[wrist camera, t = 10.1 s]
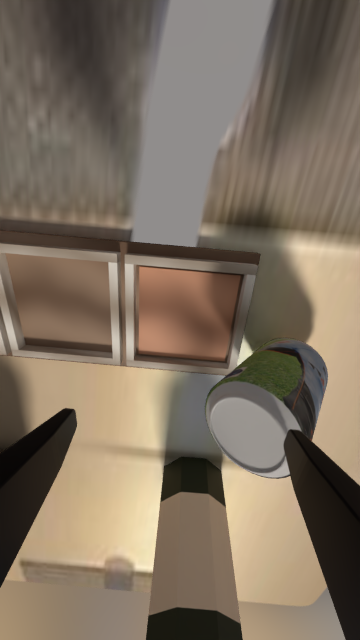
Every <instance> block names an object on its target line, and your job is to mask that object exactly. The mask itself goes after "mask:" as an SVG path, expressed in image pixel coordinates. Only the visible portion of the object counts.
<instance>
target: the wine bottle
mask: <svg viewBox="0 0 360 640" xmlns="http://www.w3.org/2000/svg"><path fill="white" fill-rule="evenodd" d="M146 640H243V639H242V631H241V624H240V616H239V607H238V600H237V592H236V584H235V576H234V568H233V560H232V552H231V545H230V537H229V529H228V521H227V513H226V505H225V498H224V490H223V482H222V474H221V471H220V470H219V469H218V468H217V467H215V466H214V465H213V464H212V463H211V462H209V461H208V460H207V459H203V458H190V457H181V458H179V459H177V460H175V461H174V462H172V463H170V464H168V465H166V466H165V467H164V473H163V482H162V492H161V501H160V511H159V520H158V530H157V539H156V549H155V558H154V568H153V578H152V587H151V597H150V606H149V616H148V625H147V635H146Z"/></svg>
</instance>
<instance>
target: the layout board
mask: <svg viewBox="0 0 360 640" xmlns="http://www.w3.org/2000/svg"><path fill="white" fill-rule="evenodd" d="M260 255H261V254H259V253H253V252H242V251H231V250H219V249H208V248H196V247H185V246H174V245H161V244H150V243H140V242H128V241H117V240H106V239H94V238H83V237H72V236H60V235H49V234H38V233H26V232H15V231H4V230H0V355H4V356H15V357H27V358H38V359H49V360H60V361H71V362H82V363H93V364H104V365H115V366H126V367H137V368H148V369H159V370H170V371H181V372H192V373H203V374H214V375H225V376H227V375H228V374H229V373H230V372H232V371H233V370H234V369H235V368H236V366H237V362H238V357H239V353H240V348H241V343H242V339H243V334H244V329H245V325H246V320H247V316H248V311H249V306H250V302H251V297H252V293H253V288H254V283H255V279H256V274H257V270H258V264H259V260H260Z"/></svg>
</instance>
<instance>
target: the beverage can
mask: <svg viewBox="0 0 360 640" xmlns="http://www.w3.org/2000/svg"><path fill="white" fill-rule="evenodd" d="M327 381H328V372H327V368H326V365H325V362H324V361H323V359H322V357H321V356H320V355H319V354H318V352H317V351H316V350H314V349H313V348H312V347H311V346H309V345H308V344H306V343H304V342H302V341H299V340H296V339H291V338H279V339H274V340H271V341H269V342H267V343H266V344H264V345H263V346H262V347H260V348H259V349H258V350H257V351H256V352H254V353H253V354H252V355H251V356H250V357H248V358H247V359H246V360H245V361H244V362H242V363H241V364H240V365H239V366H238V367H236V368H235V369H234V370H233V371H232V372H230V373H229V374H228V375H227V376H226V377H224V378H223V379H222V380H221V381H220V382H218V383H217V384H216V385H215V386H214V387H213V388H212V389H211V391H210V392H209V394H208V397H207V399H206V405H205V415H206V421H207V424H208V427H209V430H210V432H211V434H212V436H213V438H214V440H215V441H216V443H217V445H218V446H219V448H220V449H221V450H222V451H223V453H224V454H225V455H226V456H227V457H228V458H229V459H230V460H231V461H233V462H234V463H235V464H237V465H238V466H240V467H241V468H243V469H245V470H247V471H249V472H251V473H253V474H256V475H258V476H261V477H266V478H277V479H279V478H285V477H288V476H290V472H289V468H288V464H287V460H286V456H285V452H284V446H283V444H284V440H285V438H286V435H287V432H288V430H290V429H294V430H300V431H301V432H302V433H303V434H304V435H306V436H307V437H308V438H309V439H310V440H311V441H312V438H313V434H314V430H315V427H316V423H317V419H318V415H319V412H320V408H321V404H322V400H323V397H324V393H325V389H326V386H327Z"/></svg>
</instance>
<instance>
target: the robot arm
mask: <svg viewBox="0 0 360 640" xmlns="http://www.w3.org/2000/svg"><path fill="white" fill-rule="evenodd" d="M76 427H77V419H76V412H75V410H74V409H69V408H65V409H63V410H61V411H60V412H58V413H57V414H56V415H54V416H53V417H51V418H50V419H48V420H47V421H46V422H44V423H43V424H41V425H40V426H39V427H37V428H36V429H34V430H33V431H32V432H30V433H29V434H27V435H26V436H24V437H23V438H22V439H20V440H19V441H17V442H16V443H15V444H13V445H12V446H10V447H9V448H8V449H6V450H5V451H3V452H2V453H0V587H1V585H2V583H3V582H4V580H5V578H6V576H7V574H8V572H9V570H10V568H11V566H12V564H13V562H14V560H15V558H16V556H17V554H18V552H19V550H20V548H21V546H22V544H23V542H24V540H25V538H26V536H27V534H28V532H29V530H30V528H31V526H32V524H33V522H34V520H35V518H36V516H37V514H38V512H39V510H40V508H41V506H42V504H43V502H44V500H45V498H46V496H47V494H48V492H49V490H50V488H51V486H52V484H53V482H54V480H55V478H56V476H57V474H58V472H59V470H60V468H61V466H62V464H63V461H64V459H65V456H66V454H67V451H68V448H69V446H70V443H71V441H72V438H73V436H74V433H75V430H76ZM283 446H284V452H285V456H286V460H287V464H288V468H289V472H290V476H291V480H292V484H293V488H294V491H295V494H296V497H297V500H298V503H299V506H300V509H301V512H302V515H303V517H304V520H305V523H306V526H307V529H308V532H309V535H310V538H311V541H312V543H313V546H314V549H315V552H316V555H317V558H318V561H319V564H320V567H321V569H322V572H323V575H324V578H325V581H326V584H327V587H328V590H329V593H330V595H331V598H332V601H333V604H334V607H335V610H336V613H337V616H338V619H339V621H340V624H341V627H342V630H343V633H344V636H345V639H346V640H360V486H359V485H358V484H357V483H356V482H355V481H354V480H353V479H352V478H351V477H350V476H349V475H348V474H347V473H345V472H344V471H343V470H342V469H341V468H340V467H339V466H338V465H337V464H336V463H335V462H334V461H333V460H331V459H330V458H329V457H328V456H327V455H326V454H325V453H324V452H323V451H322V450H321V449H320V448H319V447H317V446H316V445H315V444H314V443H313V442H312V441H311V440H310V439H309V438H308V437H307V436H306V435H304V434H303V433H302V432H301V431H300V430H294V429H290V430H288V432H287V435H286V438H285V440H284V444H283Z"/></svg>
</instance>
